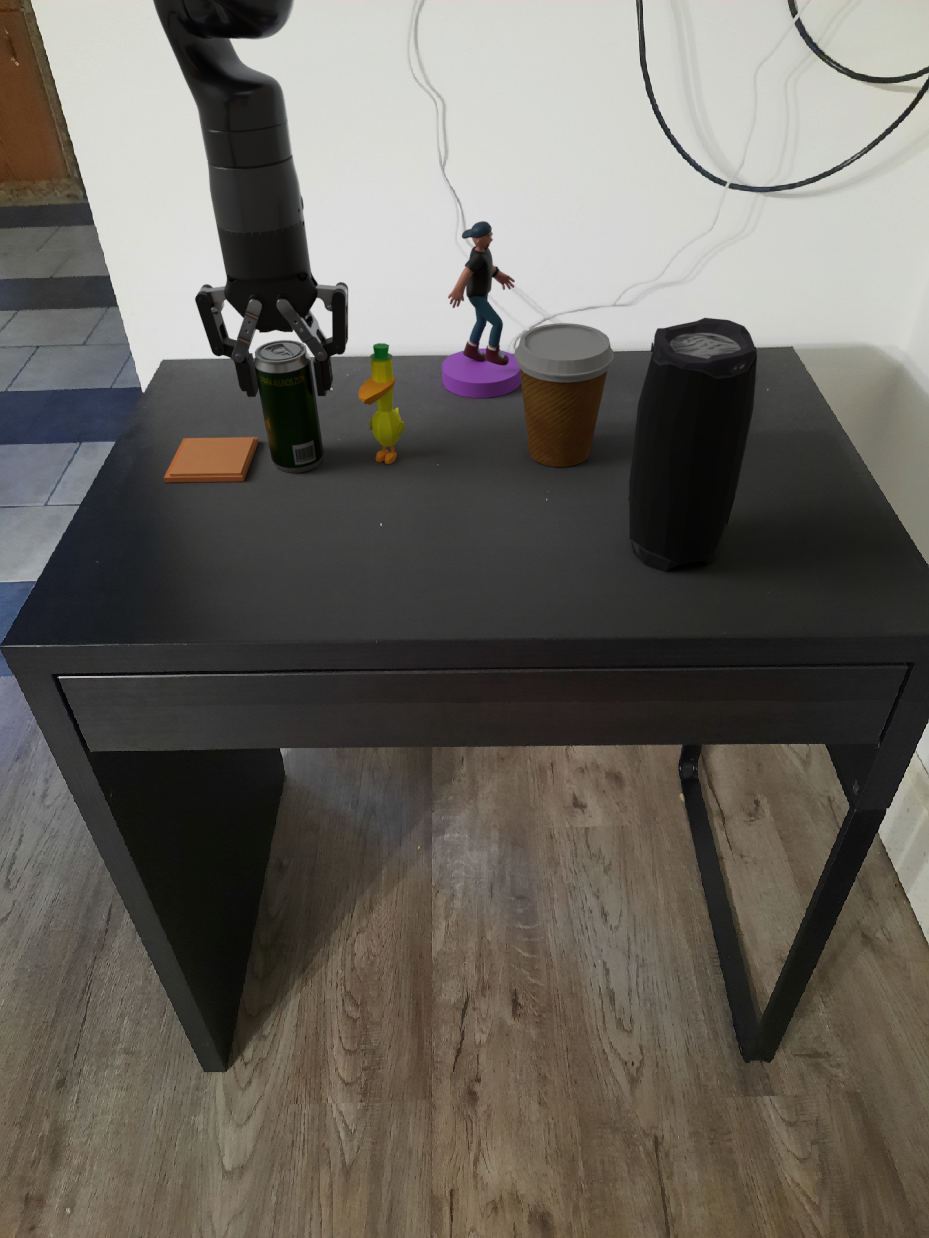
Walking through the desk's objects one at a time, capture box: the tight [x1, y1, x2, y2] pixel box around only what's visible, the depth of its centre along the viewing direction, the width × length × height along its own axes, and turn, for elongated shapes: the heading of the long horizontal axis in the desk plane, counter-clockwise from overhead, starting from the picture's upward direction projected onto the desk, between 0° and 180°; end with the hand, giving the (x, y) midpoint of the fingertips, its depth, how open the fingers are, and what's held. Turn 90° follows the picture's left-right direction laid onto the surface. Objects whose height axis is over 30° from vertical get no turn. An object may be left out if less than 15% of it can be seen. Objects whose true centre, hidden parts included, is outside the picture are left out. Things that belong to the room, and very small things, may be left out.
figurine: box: [441, 220, 521, 399], centre depth 101 cm, size 9×9×18 cm
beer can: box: [254, 339, 325, 474], centre depth 90 cm, size 5×5×12 cm
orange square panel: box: [163, 436, 259, 483], centre depth 93 cm, size 8×8×1 cm
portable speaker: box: [627, 317, 758, 572], centre depth 74 cm, size 9×9×20 cm
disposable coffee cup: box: [514, 322, 615, 468], centre depth 90 cm, size 10×10×12 cm
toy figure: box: [358, 342, 406, 465], centre depth 89 cm, size 7×4×12 cm, turn 156°
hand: (288, 392), depth 89 cm, fingers open, 6 cm apart
